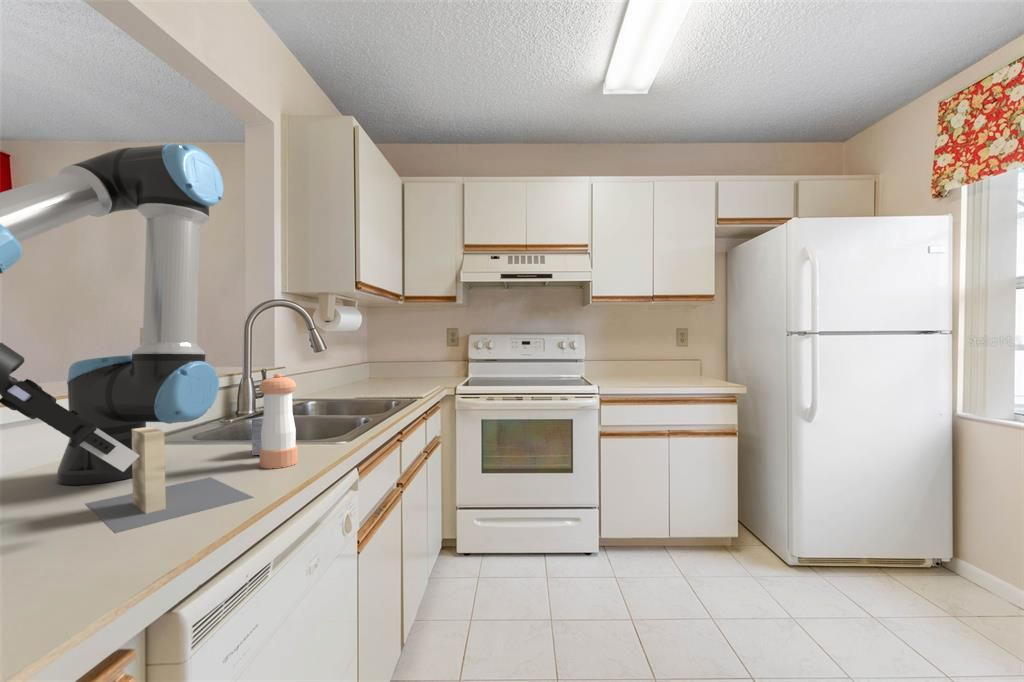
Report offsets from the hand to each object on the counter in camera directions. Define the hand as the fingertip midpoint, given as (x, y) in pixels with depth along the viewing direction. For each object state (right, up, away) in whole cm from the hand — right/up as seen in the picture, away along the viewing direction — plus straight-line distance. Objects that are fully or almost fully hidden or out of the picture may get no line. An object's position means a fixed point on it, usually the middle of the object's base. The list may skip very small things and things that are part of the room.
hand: (119, 456), depth 72 cm
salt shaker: (+10, -9, +29) cm, 32 cm away
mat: (+3, -9, +6) cm, 11 cm away
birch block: (+2, -9, +3) cm, 10 cm away
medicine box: (+3, -9, +40) cm, 41 cm away
